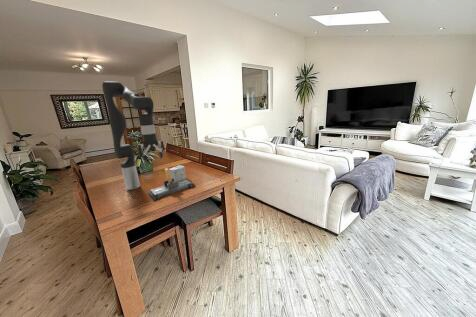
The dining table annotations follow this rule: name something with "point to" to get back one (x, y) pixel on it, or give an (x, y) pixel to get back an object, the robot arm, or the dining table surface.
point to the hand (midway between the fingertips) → (153, 159)
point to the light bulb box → (177, 173)
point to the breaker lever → (168, 175)
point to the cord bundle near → (153, 196)
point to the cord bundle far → (191, 185)
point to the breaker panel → (165, 189)
